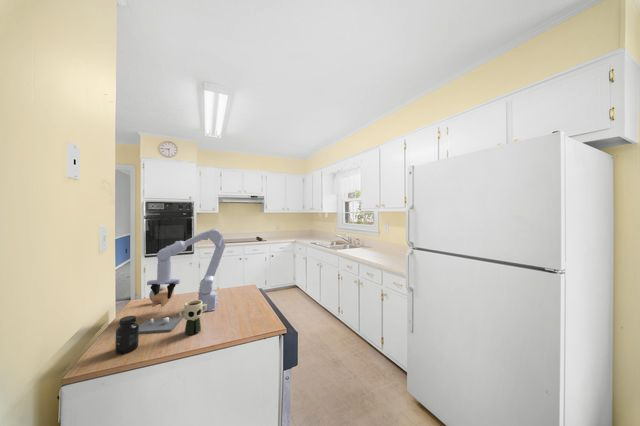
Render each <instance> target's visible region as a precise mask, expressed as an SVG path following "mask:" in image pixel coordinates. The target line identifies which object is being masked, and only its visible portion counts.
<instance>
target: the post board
mask: <svg viewBox="0 0 640 426" xmlns="http://www.w3.org/2000/svg"><path fill="white" fill-rule="evenodd" d="M182 320H183V317H179V316H178V317H169V316H167V317H163V318H148V319H147V320H145V321H144V322H143V323H141V324H139V335H142V334H154V333H156V334H157V333H169V332H172V331H173V330H174V329H175V328H176V326H178V325H179V323H180V322H182Z"/></svg>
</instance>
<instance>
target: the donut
mask: <svg viewBox="0 0 640 426" xmlns="http://www.w3.org/2000/svg"><path fill="white" fill-rule="evenodd" d="M166 289H167V286H166V285H160V290H159V292H161V291H162V290H166ZM154 296H155V295H154V293H153V291H152V289H150V292H149V300H150V302H152V297H154ZM158 304H161V302H159V303H158Z"/></svg>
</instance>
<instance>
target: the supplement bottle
mask: <svg viewBox="0 0 640 426" xmlns="http://www.w3.org/2000/svg"><path fill="white" fill-rule="evenodd" d="M118 325H119V326H117V328H116V329H115V340H114V341H115V342H114V343H115V346H114V347H115V348H114V350H115V351H114V352H115V354H117V355H126V354H129V352H130V353H132V352H134V351H135V350H137V349H138V348H139V344H140V343H139V340H140V339H139V338H140V337H139V336H140V334H139V326H140V323H138V322H137V317H136V315H127V316H123V317H121V318H120V319H119V324H118ZM133 350H134V351H133ZM131 351H132V352H131ZM125 353H126V354H125Z"/></svg>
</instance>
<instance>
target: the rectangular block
mask: <svg viewBox="0 0 640 426" xmlns="http://www.w3.org/2000/svg"><path fill="white" fill-rule="evenodd" d="M174 295H175V288H174V289H173V292H172V295H171V298H170V299H168V289H166V290H162V291H161V292H159V293H158V294H157V295H155V296H154V297H152V301H151V308H152V307H156V306H157V305H158V304H160V307H164V306H165V305H166V304H168V303H169V302H170V301H171V300H173V299H174ZM159 302H161V303H159Z"/></svg>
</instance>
